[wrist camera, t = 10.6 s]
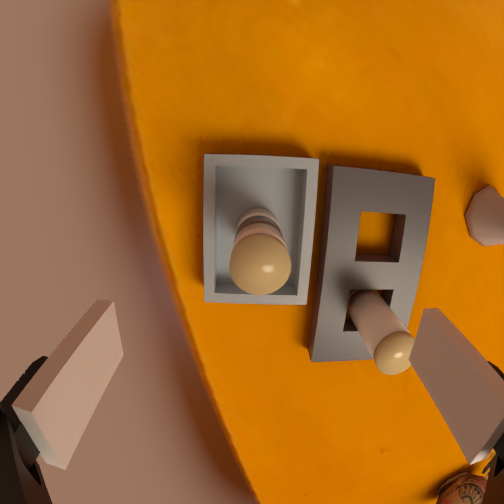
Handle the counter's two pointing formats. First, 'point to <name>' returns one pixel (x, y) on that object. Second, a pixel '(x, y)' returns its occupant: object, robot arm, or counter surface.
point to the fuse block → (366, 265)
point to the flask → (486, 217)
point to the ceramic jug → (462, 489)
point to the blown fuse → (259, 253)
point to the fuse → (380, 330)
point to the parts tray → (258, 196)
